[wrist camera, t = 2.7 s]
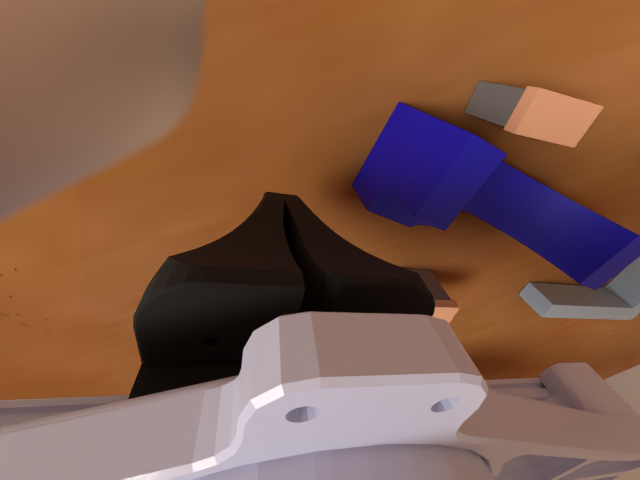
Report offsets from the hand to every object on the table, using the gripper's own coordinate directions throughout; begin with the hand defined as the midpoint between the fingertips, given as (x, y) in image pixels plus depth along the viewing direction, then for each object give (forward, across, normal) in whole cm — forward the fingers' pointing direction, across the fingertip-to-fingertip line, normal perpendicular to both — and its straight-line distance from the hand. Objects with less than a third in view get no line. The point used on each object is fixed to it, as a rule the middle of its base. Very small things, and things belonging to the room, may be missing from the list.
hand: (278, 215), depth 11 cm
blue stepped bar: (+4, -10, -1) cm, 11 cm away
